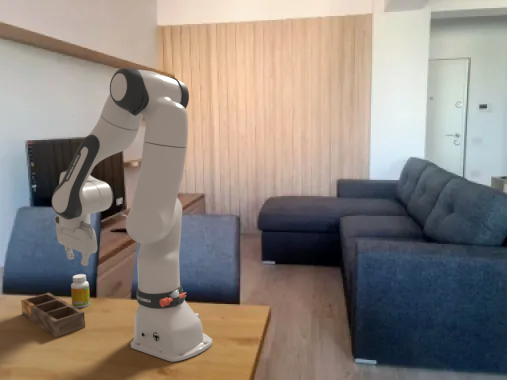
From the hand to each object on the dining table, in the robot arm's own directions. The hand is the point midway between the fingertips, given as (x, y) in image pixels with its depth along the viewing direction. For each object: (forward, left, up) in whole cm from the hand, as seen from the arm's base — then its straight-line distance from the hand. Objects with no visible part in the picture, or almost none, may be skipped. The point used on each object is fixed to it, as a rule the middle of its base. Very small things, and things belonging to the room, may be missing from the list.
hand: (77, 262), depth 147 cm
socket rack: (-5, +11, -14) cm, 19 cm away
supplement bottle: (0, 0, -15) cm, 15 cm away
